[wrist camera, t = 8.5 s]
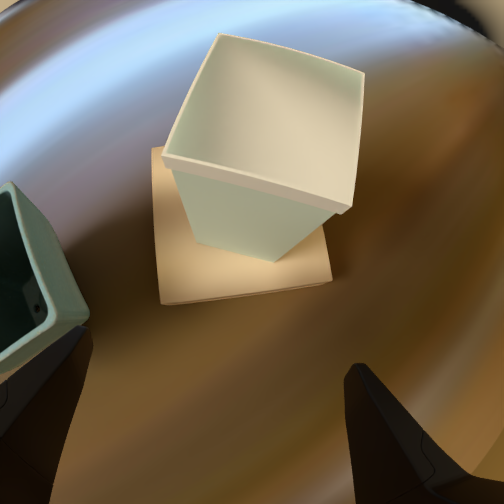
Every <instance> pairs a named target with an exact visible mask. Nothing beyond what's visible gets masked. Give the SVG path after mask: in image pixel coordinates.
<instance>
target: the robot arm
mask: <svg viewBox="0 0 504 504" xmlns="http://www.w3.org/2000/svg"><path fill="white" fill-rule="evenodd" d="M92 350H93V342H92V338H91V333H90V330H89V328H88V327H86V326H82V325H77V326H75V327H74V328H72V329H71V330H70V331H68V332H67V333H66V334H64V335H63V336H62V337H60V338H59V339H58V340H56V341H55V342H54V343H52V344H51V345H50V346H49V347H47V348H46V349H45V350H43V351H42V352H41V353H39V354H38V355H37V356H36V357H34V358H33V359H32V360H30V361H29V362H28V363H27V364H25V365H24V366H23V367H21V368H20V369H19V370H18V371H16V372H15V373H14V374H13V375H11V376H10V377H9V378H8V379H7V380H5V381H4V382H3V383H1V384H0V504H49V501H50V497H51V492H52V488H53V483H54V479H55V476H56V472H57V468H58V464H59V461H60V457H61V454H62V450H63V447H64V443H65V440H66V437H67V434H68V430H69V427H70V424H71V421H72V418H73V415H74V412H75V409H76V406H77V403H78V400H79V398H80V395H81V392H82V389H83V385H84V382H85V378H86V373H87V369H88V365H89V361H90V358H91V354H92ZM344 399H345V420H346V428H347V435H348V442H349V449H350V457H351V465H352V473H353V482H354V491H355V501H356V504H504V482H501V481H495V480H490V479H484V478H480V477H476V476H473V475H471V474H469V473H467V472H466V471H465V470H463V469H462V468H461V467H460V466H459V465H458V464H457V463H456V462H455V461H454V460H453V459H452V458H451V457H449V456H448V455H447V454H446V453H445V452H444V451H443V450H442V449H441V448H440V447H439V446H438V445H437V444H436V443H435V442H434V441H433V440H432V438H431V437H430V436H429V435H428V434H427V433H426V432H425V431H424V430H423V428H422V427H421V426H420V425H419V424H418V423H417V422H416V420H415V419H414V418H413V417H412V416H411V415H410V414H409V412H408V411H407V410H406V409H405V408H404V407H403V406H402V404H401V403H400V402H399V401H398V400H397V399H396V398H395V397H394V395H393V394H392V393H391V392H390V391H389V390H388V389H387V387H386V386H385V385H384V384H383V383H382V382H381V381H380V380H379V378H378V377H377V376H376V375H375V374H374V373H373V372H372V371H371V369H370V368H369V367H368V366H367V365H366V364H364V363H354V364H353V365H352V366H351V368H350V370H349V371H348V373H347V374H346V376H345V378H344Z"/></svg>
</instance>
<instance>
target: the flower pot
mask: <svg viewBox="0 0 504 504" xmlns="http://www.w3.org/2000/svg"><path fill="white" fill-rule="evenodd" d="M36 306H39V307H40V311H39V312H37V311H36ZM89 316H90V311H89V308H88V306H87V304H86V302H85V300H84V298H83V296H82V294H81V292H80V290H79V288H78V286H77V283H76V281H75V279H74V277H73V274H72V272H71V270H70V268H69V265H68V263H67V260H66V258H65V256H64V253H63V250H62V248H61V245H60V243H59V240H58V238H57V236H56V234H55V232H54V230H53V228H52V226H51V224H50V223H49V221H48V220H47V219H46V217H45V216H44V215H43V214H42V213H41V212H40V211H39V210H38V209H37V208H36V206H35V205H34V204H33V203H32V202H31V201H30V200H29V199H28V198H27V197H26V196H25V195H24V194H23V193H22V192H21V191H20V189H19V188H18V187H17V186H16V185H15V184H14V183H13V182H11V181H10V182H7V183H6V184H4V185H3V186H2V187H0V374H2V373H5V372H7V371H10V370H12V369H14V368H16V367H18V366H20V365H22V364H23V363H24V362H26V361H27V360H29V359H30V358H32V357H33V356H34V355H36V354H37V353H39V352H40V351H42V350H43V349H45V348H46V347H47V346H49V345H50V344H52V343H53V342H55V341H56V340H58V339H59V338H60V337H62V336H63V335H64V334H66V333H67V332H68V331H70V330H71V329H72V328H74V327H75V326H77V325H81V324H83V323H84V322H86V321H87V320H88V318H89Z"/></svg>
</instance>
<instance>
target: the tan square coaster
mask: <svg viewBox="0 0 504 504" xmlns="http://www.w3.org/2000/svg"><path fill="white" fill-rule="evenodd" d="M164 147H165V146H162V147H156V148H152V195H153V217H154V234H155V249H156V261H157V272H158V283H159V292H160V301H161V304H163V305H168V306H169V305H178V304H187V303H195V302H204V301H212V300H220V299H227V298H235V297H242V296H250V295H257V294H264V293H271V292H278V291H285V290H291V289H298V288H304V287H311V286H317V285H322V284H325V283H328V282H330V281H333V279H332V273H331V268H330V262H329V257H328V252H327V246H326V241H325V236H324V231H323V226H322V224H321V225H320V226H319V227H318V228H316V229H315V230H314V231H313V232H311V233H310V234H309V235H308V236H307V237H305V238H304V239H303V240H302V241H300V242H299V243H298V244H297V245H295V246H294V247H293V248H292V249H290V250H289V251H288V252H287V253H285V254H284V255H283V256H282V257H280V258H279V259H278V260H277V261H275V262H274V263H273V262H269V261H265V260H261V259H257V258H254V257H250V256H246V255H242V254H238V253H234V252H231V251H227V250H223V249H219V248H215V247H211V246H208V245H204V244H200V243H197V242H196V240H195V237H194V234H193V231H192V228H191V226H190V223H189V220H188V217H187V214H186V212H185V209H184V206H183V203H182V200H181V197H180V194H179V191H178V188H177V185H176V182H175V179H174V176H173V174H172V170H171V169H167V168H165V165H164V162H163V160H162V157H161V154H162V152H163V149H164Z"/></svg>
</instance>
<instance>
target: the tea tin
mask: <svg viewBox="0 0 504 504" xmlns="http://www.w3.org/2000/svg"><path fill="white" fill-rule="evenodd" d="M364 76H365V73H363V72H360V71H358V70H355V69H353V68H350V67H347V66H344V65H342V64H339V63H336V62H333V61H330V60H327V59H324V58H321V57H318V56H315V55H312V54H308V53H305V52H301V51H298V50H294V49H291V48H287V47H283V46H279V45H275V44H271V43H267V42H263V41H258V40H254V39H249V38H244V37H239V36H234V35H228V34H222V33H218V35H217V37H216V39H215V40H214V42H213V44H212V46H211V48H210V50H209V52H208V53H207V55H206V57H205V59H204V61H203V63H202V65H201V67H200V69H199V71H198V73H197V75H196V77H195V79H194V81H193V83H192V85H191V88H190V90H189V92H188V94H187V96H186V98H185V100H184V103H183V105H182V107H181V109H180V111H179V114H178V116H177V118H176V121H175V123H174V125H173V128H172V130H171V132H170V135H169V137H168V140H167V142H166V144H165V147H164V149H163V152H162V154H161V157H162V160H163V162H164V165H165V168H167V169H171V170H172V174H173V176H174V179H175V182H176V185H177V188H178V191H179V194H180V197H181V200H182V203H183V206H184V209H185V212H186V214H187V217H188V220H189V223H190V226H191V228H192V231H193V234H194V237H195V240H196V242H197V243H200V244H204V245H208V246H211V247H215V248H219V249H223V250H227V251H231V252H234V253H238V254H242V255H246V256H250V257H254V258H257V259H261V260H265V261H269V262H273V263H274V262H275V261H277V260H278V259H279V258H280V257H282V256H283V255H284V254H285V253H287V252H288V251H289V250H290V249H292V248H293V247H294V246H295V245H297V244H298V243H299V242H300V241H302V240H303V239H304V238H305V237H307V236H308V235H309V234H310V233H311V232H313V231H314V230H315V229H316V228H318V227H319V226H320V225H321V224H323V223H324V222H325V221H326V220H328V219H329V218H330V217H331V216H332V215H334V214H335V213H337V214H343V213H344V212H345V211H347V210H348V209H349V208H350V207H352V202H353V195H354V188H355V180H356V172H357V163H358V154H359V144H360V134H361V123H362V110H363V95H364Z"/></svg>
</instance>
